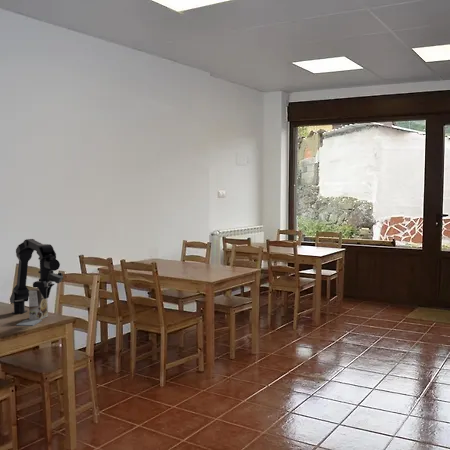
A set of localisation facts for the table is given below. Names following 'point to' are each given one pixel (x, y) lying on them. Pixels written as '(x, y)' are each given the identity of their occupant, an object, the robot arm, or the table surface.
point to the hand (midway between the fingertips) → (46, 298)
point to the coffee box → (37, 305)
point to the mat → (28, 322)
